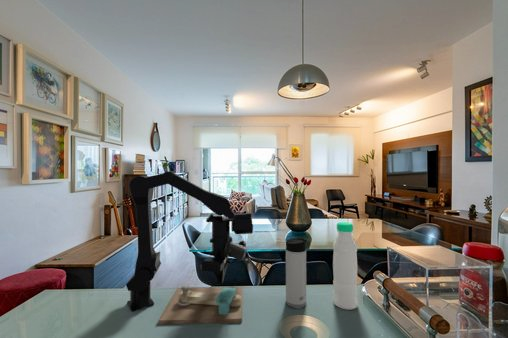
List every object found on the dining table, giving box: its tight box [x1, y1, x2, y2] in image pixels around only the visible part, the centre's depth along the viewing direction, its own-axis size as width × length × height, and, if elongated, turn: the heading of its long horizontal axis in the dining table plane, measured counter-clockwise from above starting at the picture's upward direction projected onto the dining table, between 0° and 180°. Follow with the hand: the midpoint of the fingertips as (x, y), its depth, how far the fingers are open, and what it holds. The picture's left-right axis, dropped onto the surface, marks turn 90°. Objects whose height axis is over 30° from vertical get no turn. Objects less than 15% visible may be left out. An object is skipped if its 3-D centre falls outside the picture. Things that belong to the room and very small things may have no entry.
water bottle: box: [332, 221, 359, 311], centre depth 78 cm, size 7×7×25 cm
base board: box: [157, 286, 244, 325], centre depth 78 cm, size 22×19×1 cm
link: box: [179, 284, 241, 307], centre depth 76 cm, size 20×4×4 cm, turn 82°
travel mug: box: [285, 237, 308, 309], centre depth 78 cm, size 6×7×20 cm
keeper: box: [178, 286, 236, 315], centre depth 75 cm, size 18×7×4 cm, turn 79°
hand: (221, 282), depth 82 cm, fingers closed
